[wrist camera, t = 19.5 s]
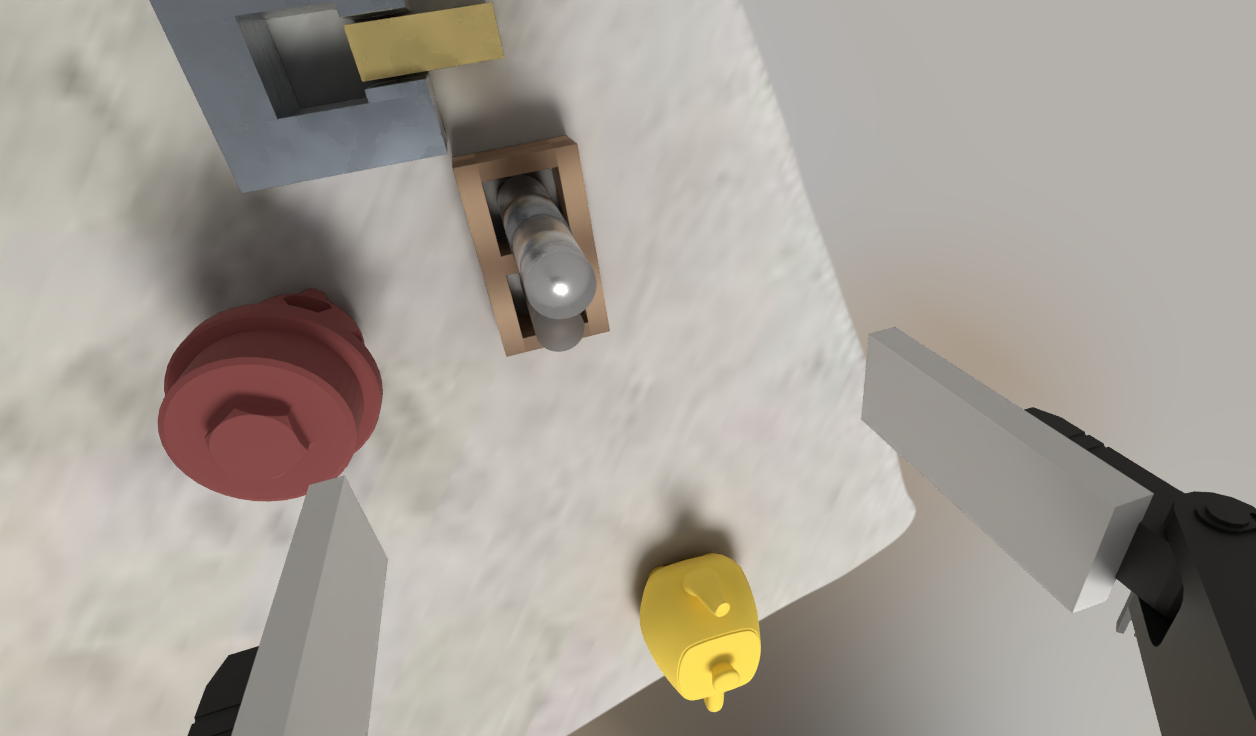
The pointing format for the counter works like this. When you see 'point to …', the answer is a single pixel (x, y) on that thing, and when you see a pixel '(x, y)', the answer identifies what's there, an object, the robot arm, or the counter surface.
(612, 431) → the counter surface
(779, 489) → the counter surface
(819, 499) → the counter surface
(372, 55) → the bar
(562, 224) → the grey cylindrical peg
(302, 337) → the mechanical component
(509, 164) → the frame
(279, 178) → the socket block
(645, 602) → the teapot
